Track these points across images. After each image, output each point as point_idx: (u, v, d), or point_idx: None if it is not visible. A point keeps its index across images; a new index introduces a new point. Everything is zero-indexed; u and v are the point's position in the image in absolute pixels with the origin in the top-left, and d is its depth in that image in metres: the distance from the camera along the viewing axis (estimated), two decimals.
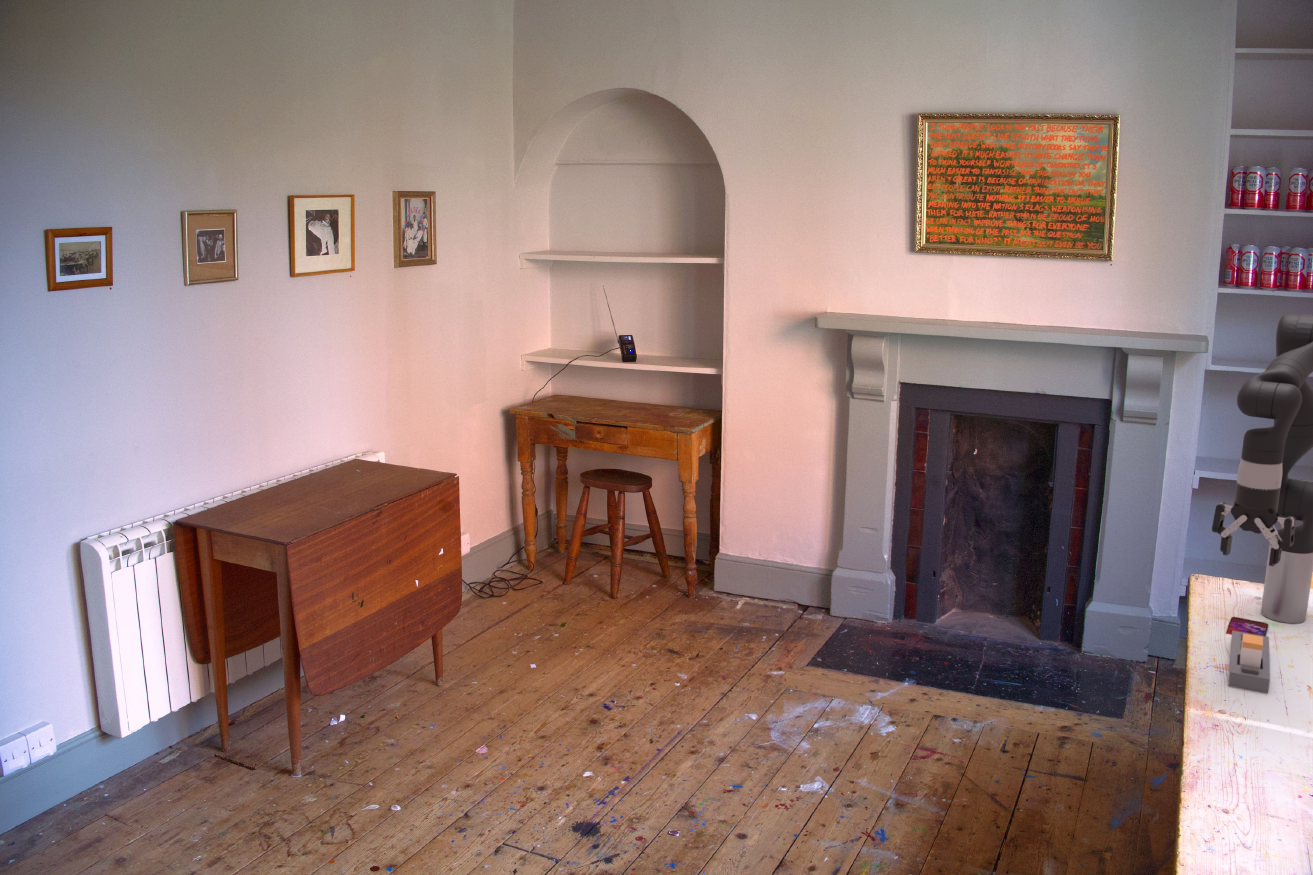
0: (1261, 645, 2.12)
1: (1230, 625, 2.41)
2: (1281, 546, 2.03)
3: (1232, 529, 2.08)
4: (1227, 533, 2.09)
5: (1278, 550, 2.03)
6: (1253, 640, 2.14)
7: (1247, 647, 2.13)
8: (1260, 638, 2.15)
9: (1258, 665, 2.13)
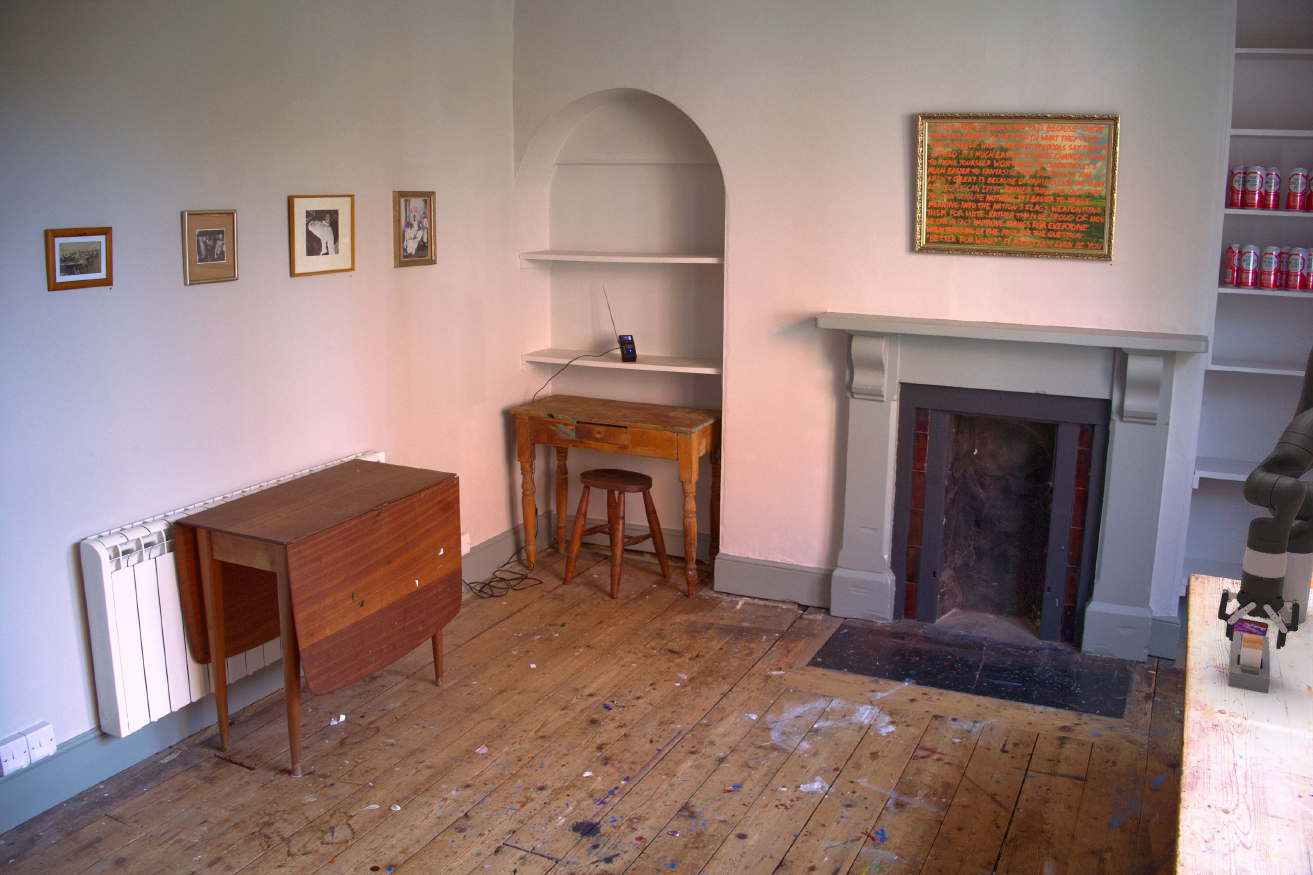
0: (1261, 645, 2.12)
1: None
2: None
3: None
4: None
5: None
6: (1253, 640, 2.14)
7: (1247, 647, 2.13)
8: (1260, 638, 2.15)
9: (1258, 665, 2.13)
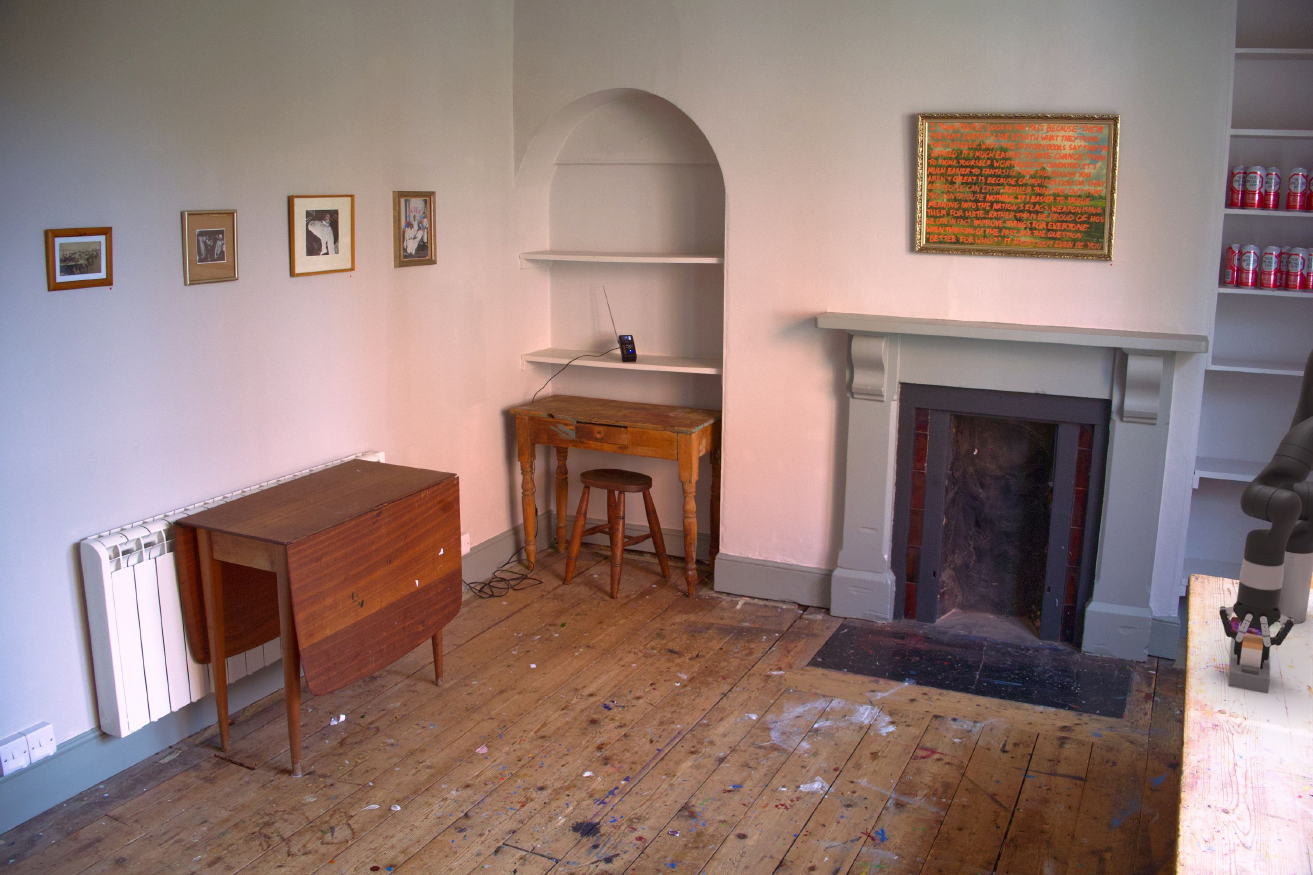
0: (1261, 645, 2.12)
1: None
2: None
3: None
4: None
5: None
6: (1253, 640, 2.14)
7: (1247, 647, 2.13)
8: (1260, 638, 2.15)
9: (1258, 665, 2.13)
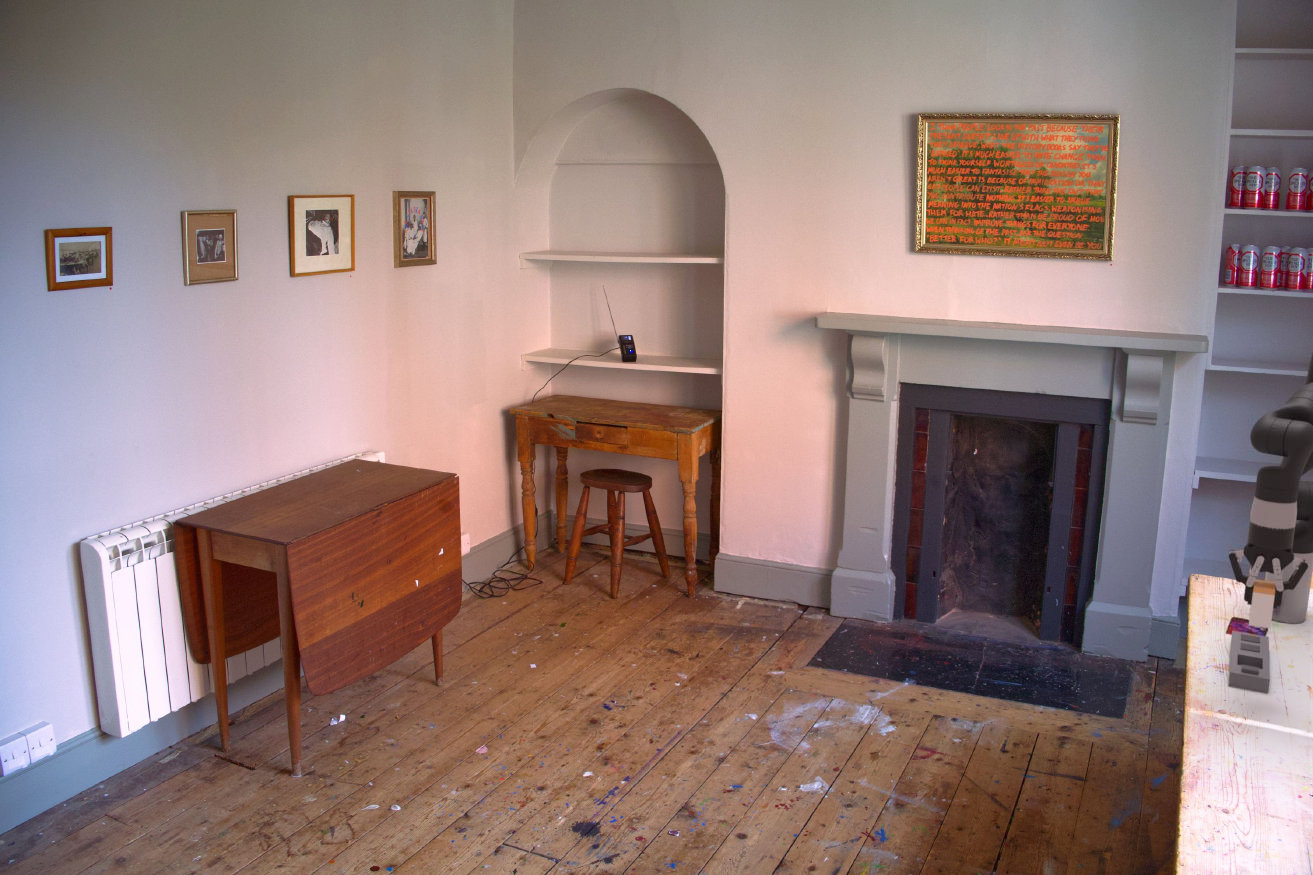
0: (1273, 589, 2.00)
1: (1230, 625, 2.41)
2: None
3: None
4: None
5: None
6: (1264, 585, 2.02)
7: (1258, 592, 2.01)
8: (1272, 583, 2.03)
9: (1270, 611, 2.01)
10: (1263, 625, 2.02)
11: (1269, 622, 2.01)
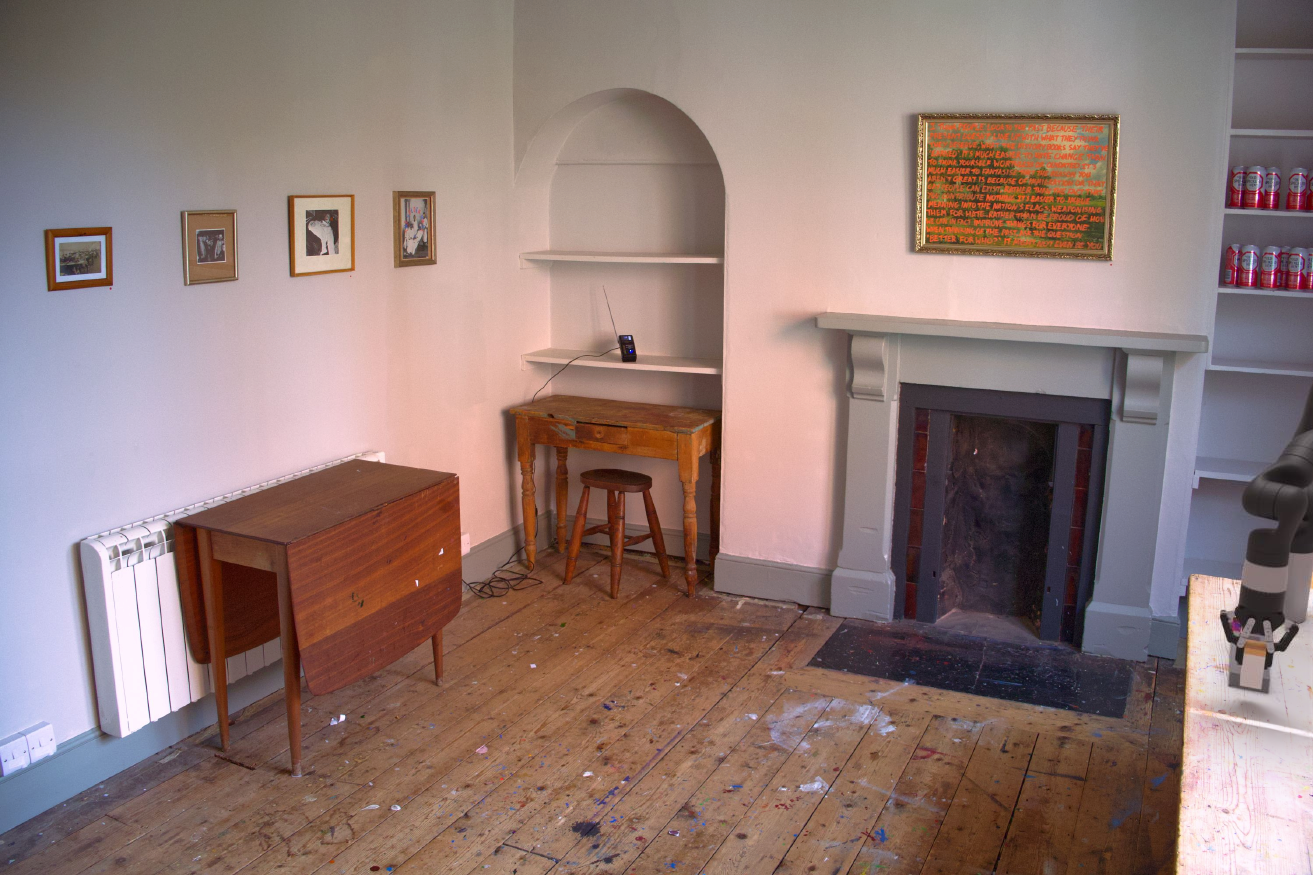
0: (1264, 651, 1.99)
1: None
2: None
3: None
4: None
5: None
6: (1255, 646, 2.02)
7: (1249, 653, 2.01)
8: (1263, 644, 2.02)
9: (1261, 672, 2.01)
10: (1254, 686, 2.02)
11: (1260, 683, 2.01)
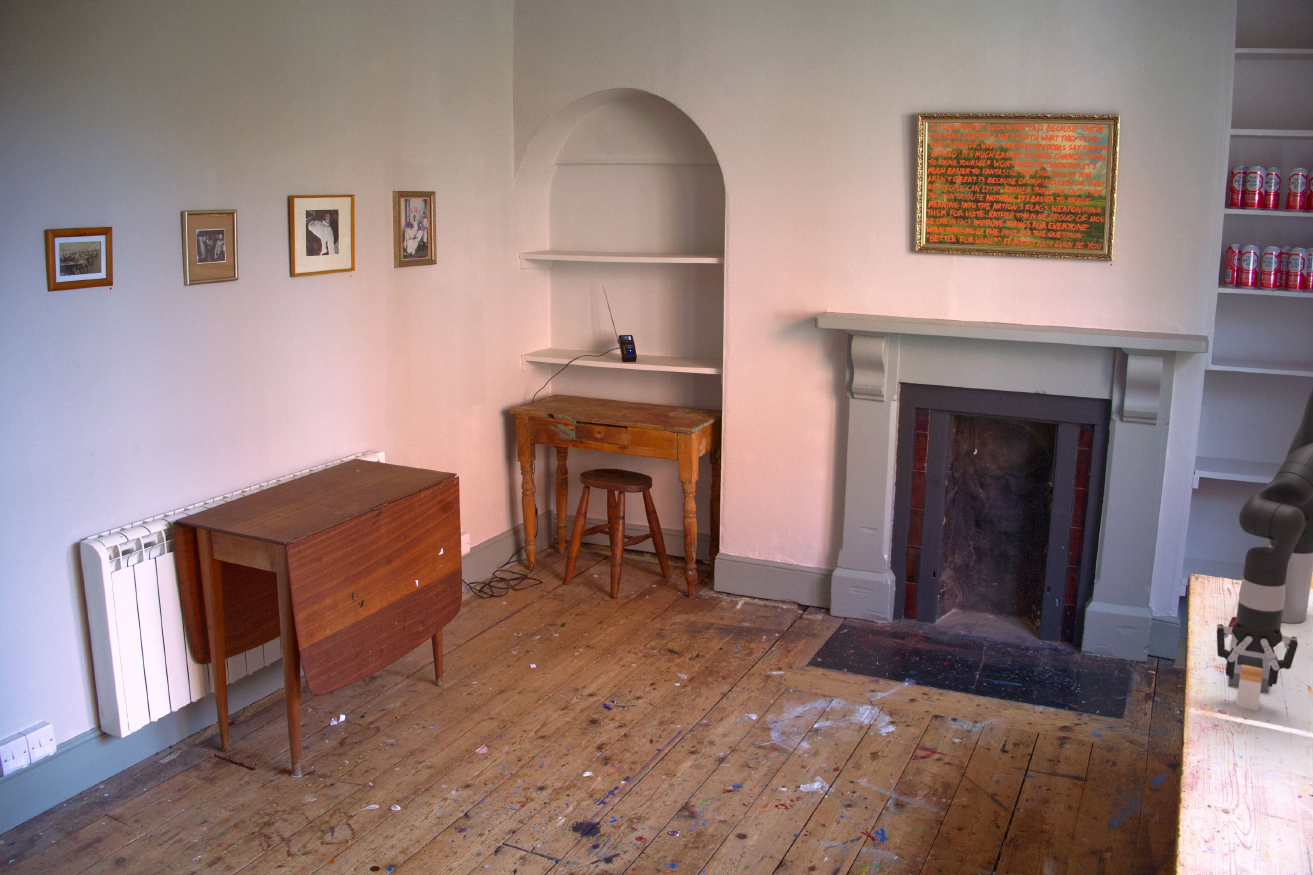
0: (1260, 677, 2.01)
1: (1230, 625, 2.41)
2: None
3: None
4: None
5: None
6: (1252, 672, 2.03)
7: (1245, 679, 2.02)
8: (1259, 670, 2.04)
9: (1257, 698, 2.02)
10: None
11: (1256, 709, 2.02)
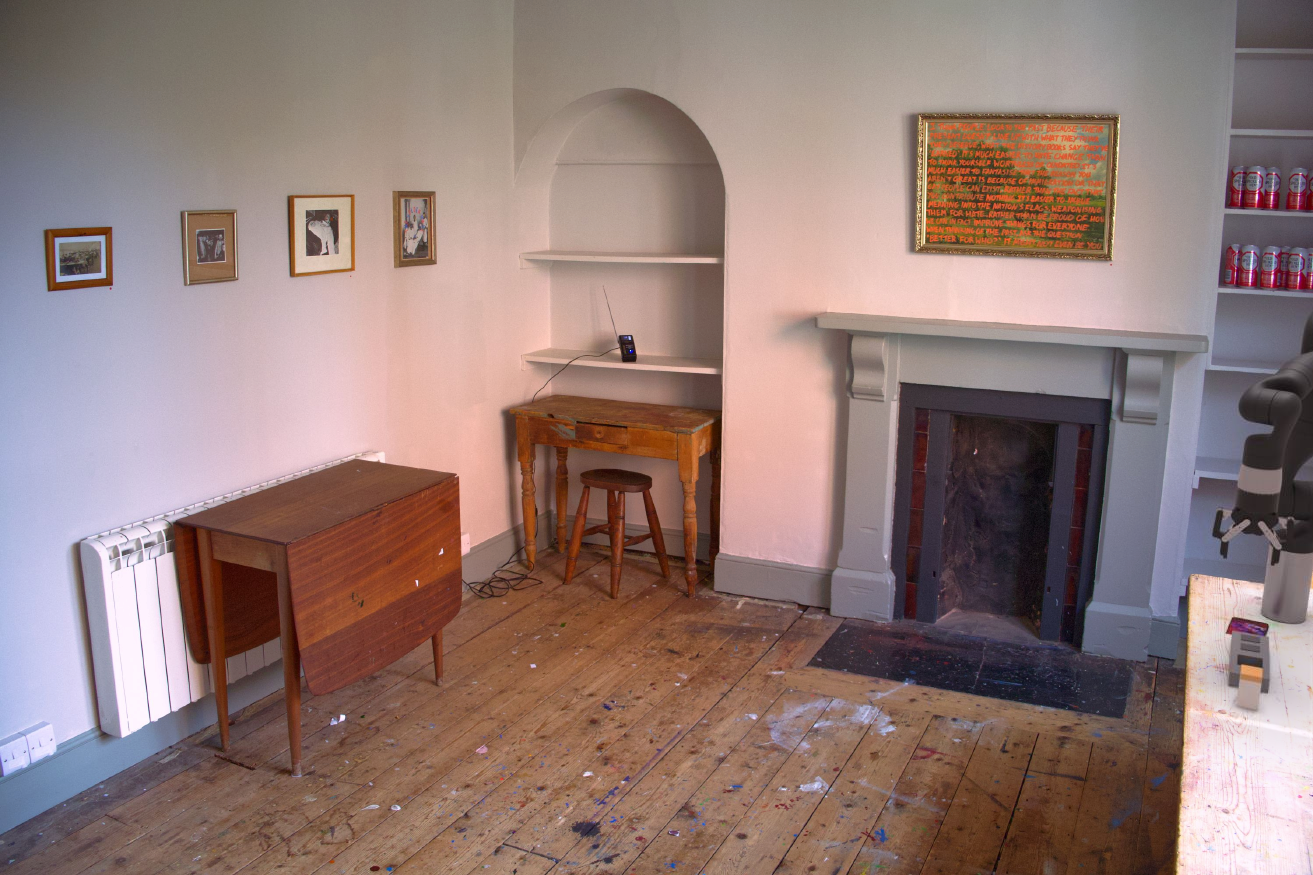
0: (1260, 677, 2.01)
1: (1230, 625, 2.41)
2: None
3: None
4: None
5: None
6: (1252, 672, 2.03)
7: (1245, 679, 2.02)
8: (1259, 670, 2.04)
9: (1257, 698, 2.02)
10: None
11: (1256, 709, 2.02)
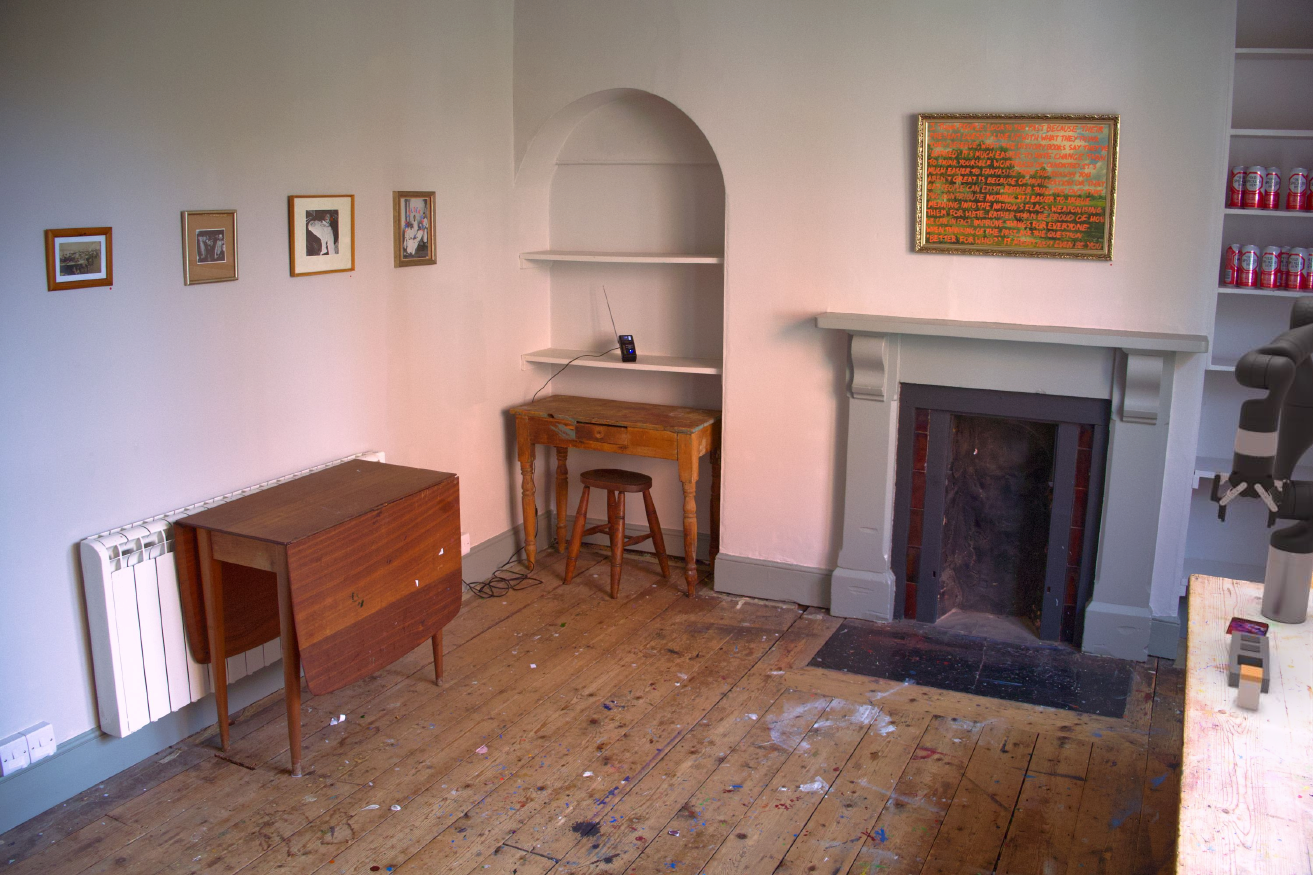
0: (1260, 677, 2.01)
1: (1230, 625, 2.41)
2: None
3: None
4: None
5: None
6: (1252, 672, 2.03)
7: (1245, 679, 2.02)
8: (1259, 670, 2.04)
9: (1257, 698, 2.02)
10: None
11: (1256, 709, 2.02)
